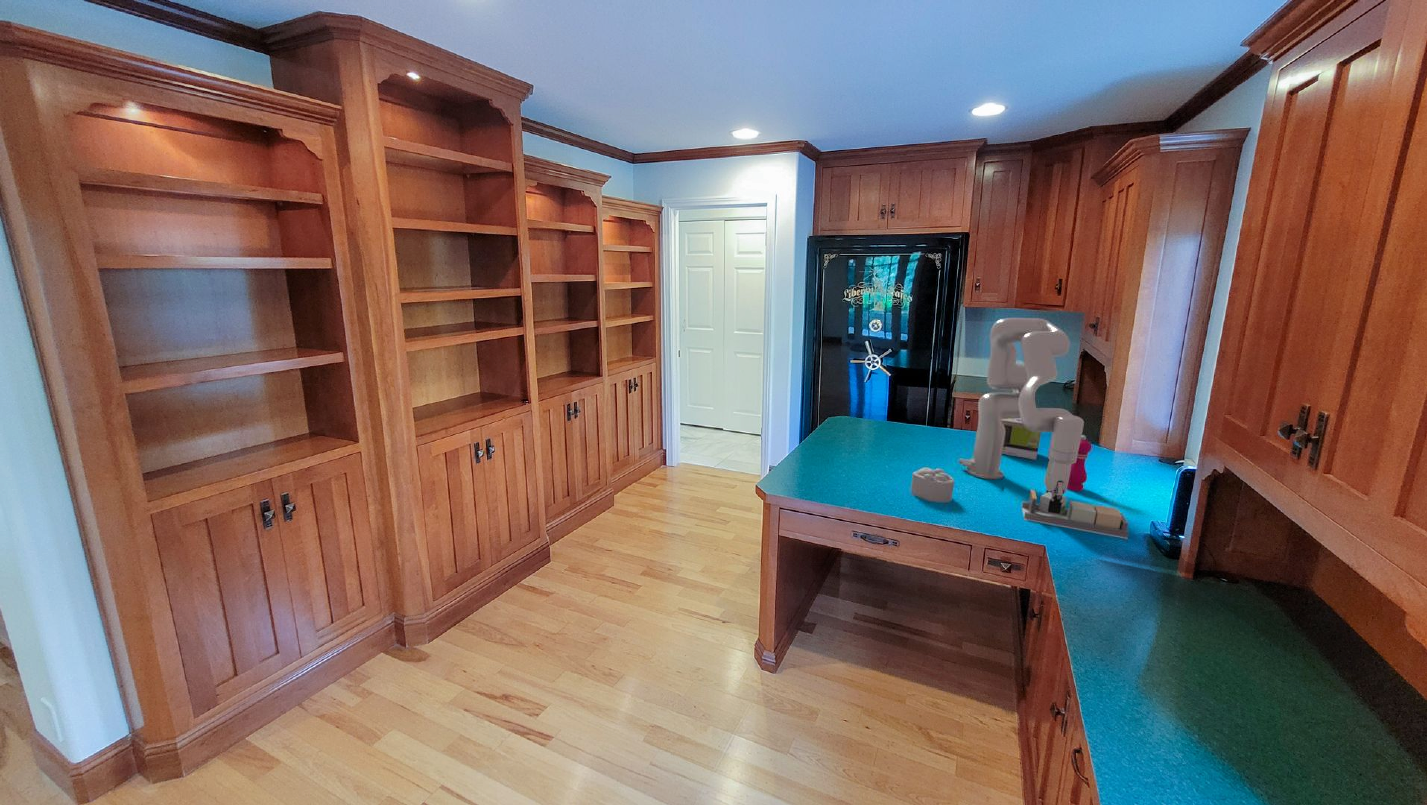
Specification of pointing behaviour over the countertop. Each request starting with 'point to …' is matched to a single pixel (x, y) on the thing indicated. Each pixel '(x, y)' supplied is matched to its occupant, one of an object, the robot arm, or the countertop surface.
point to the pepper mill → (1079, 466)
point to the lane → (1073, 522)
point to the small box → (1045, 501)
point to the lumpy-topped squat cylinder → (932, 485)
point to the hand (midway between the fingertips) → (1051, 507)
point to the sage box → (1081, 512)
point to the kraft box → (1107, 517)
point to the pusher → (1032, 502)
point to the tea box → (1020, 439)
